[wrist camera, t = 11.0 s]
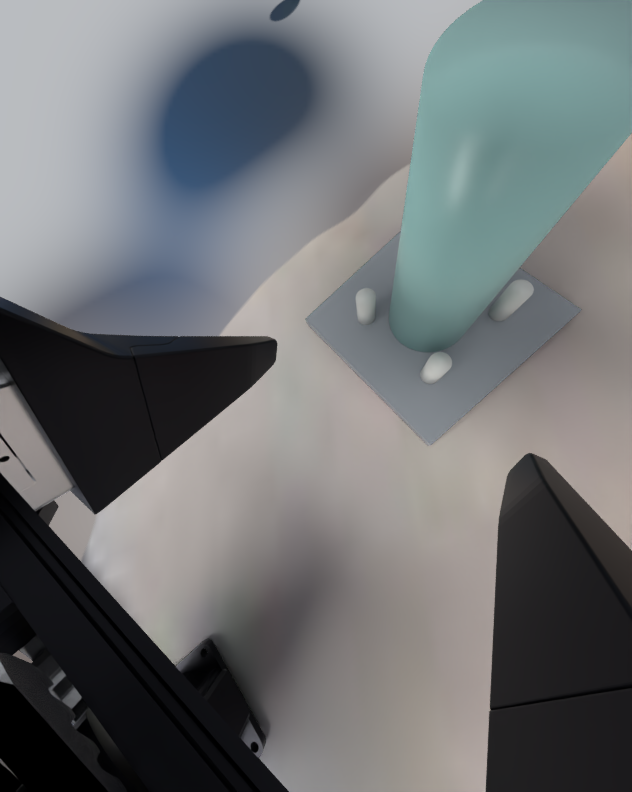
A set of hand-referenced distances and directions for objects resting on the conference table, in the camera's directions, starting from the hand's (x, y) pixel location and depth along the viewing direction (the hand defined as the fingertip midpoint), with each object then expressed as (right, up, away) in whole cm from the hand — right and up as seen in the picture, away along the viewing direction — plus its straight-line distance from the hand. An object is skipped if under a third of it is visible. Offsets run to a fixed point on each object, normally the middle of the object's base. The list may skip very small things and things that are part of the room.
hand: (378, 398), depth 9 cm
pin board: (+5, +5, +9) cm, 12 cm away
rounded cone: (+5, +5, +8) cm, 11 cm away
